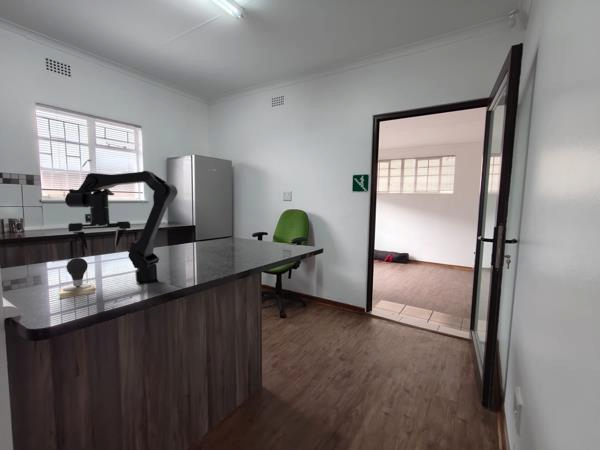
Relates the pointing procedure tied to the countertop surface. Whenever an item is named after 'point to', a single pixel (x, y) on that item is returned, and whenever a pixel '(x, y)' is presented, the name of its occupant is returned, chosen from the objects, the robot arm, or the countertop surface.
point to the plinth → (77, 290)
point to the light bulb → (77, 270)
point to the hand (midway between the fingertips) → (101, 248)
